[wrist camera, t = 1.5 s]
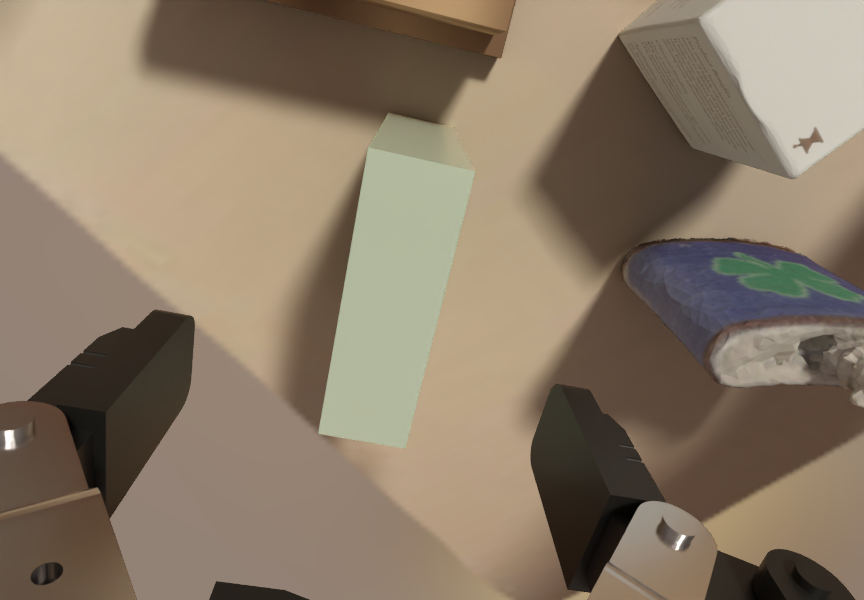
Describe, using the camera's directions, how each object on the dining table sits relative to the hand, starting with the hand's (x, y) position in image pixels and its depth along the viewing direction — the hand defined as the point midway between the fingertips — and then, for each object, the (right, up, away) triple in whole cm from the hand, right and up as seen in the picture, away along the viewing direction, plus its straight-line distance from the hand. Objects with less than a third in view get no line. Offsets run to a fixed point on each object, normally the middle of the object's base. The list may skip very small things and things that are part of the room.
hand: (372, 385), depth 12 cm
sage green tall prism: (0, +5, +13) cm, 14 cm away
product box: (+13, +12, +10) cm, 21 cm away
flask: (+15, +4, +14) cm, 21 cm away
